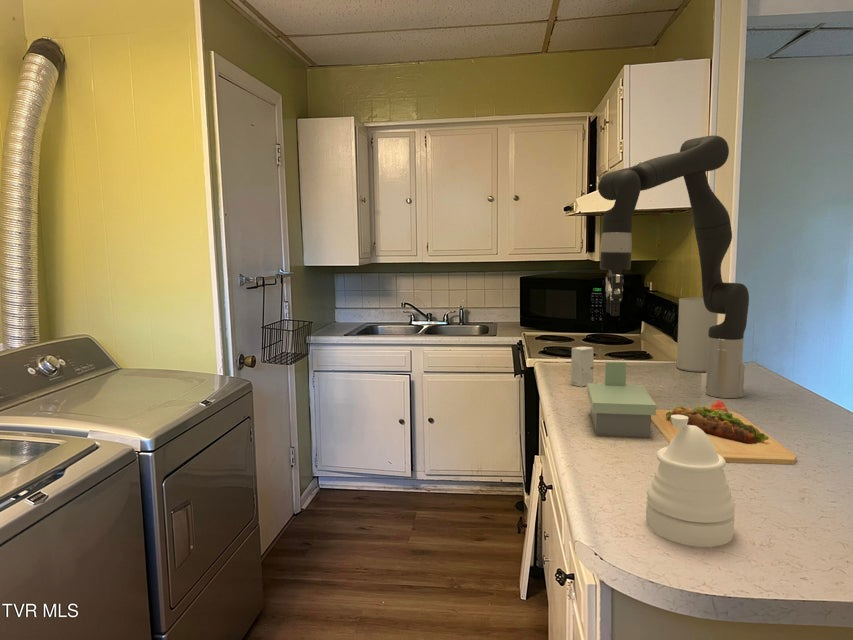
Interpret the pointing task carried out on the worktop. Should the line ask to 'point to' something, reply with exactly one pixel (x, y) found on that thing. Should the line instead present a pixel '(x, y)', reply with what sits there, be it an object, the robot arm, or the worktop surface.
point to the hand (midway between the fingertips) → (612, 314)
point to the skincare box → (582, 366)
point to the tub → (621, 424)
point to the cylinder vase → (693, 334)
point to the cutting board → (727, 434)
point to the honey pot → (690, 491)
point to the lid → (619, 394)
